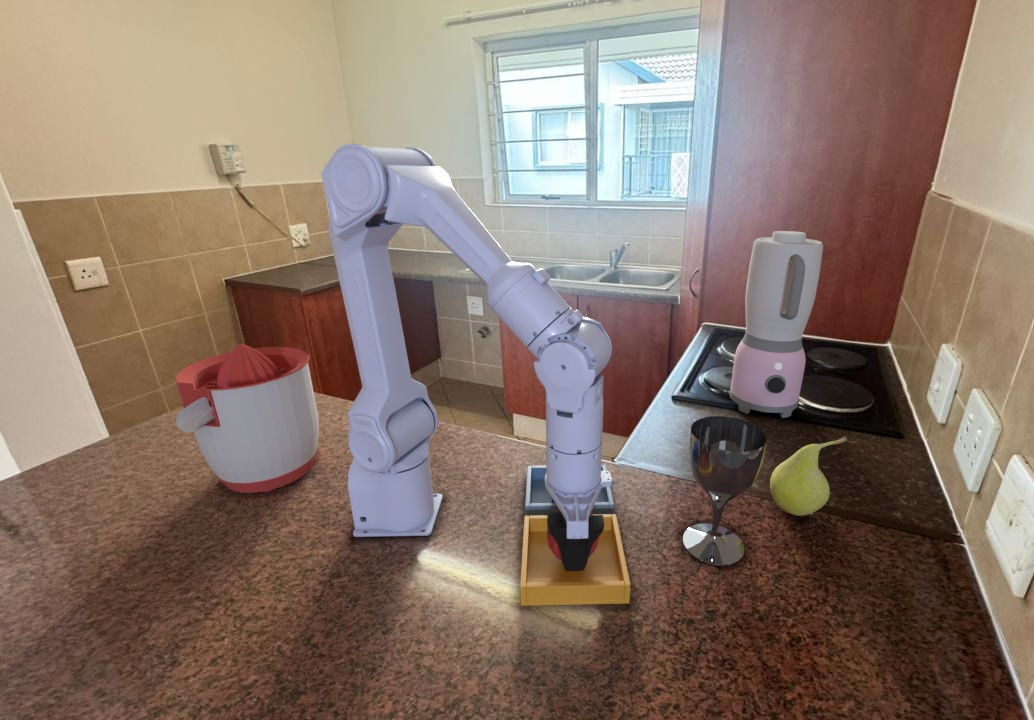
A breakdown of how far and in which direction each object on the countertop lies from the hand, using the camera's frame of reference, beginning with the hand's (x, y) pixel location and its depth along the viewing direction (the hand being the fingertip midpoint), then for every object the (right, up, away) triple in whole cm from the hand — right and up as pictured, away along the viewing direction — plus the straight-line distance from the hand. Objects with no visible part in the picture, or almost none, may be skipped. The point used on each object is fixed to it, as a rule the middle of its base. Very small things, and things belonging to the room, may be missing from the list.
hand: (572, 547), depth 56 cm
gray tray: (0, +2, +12) cm, 12 cm away
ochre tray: (0, -2, +1) cm, 2 cm away
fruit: (+30, +1, +10) cm, 31 cm away
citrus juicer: (-45, +4, +18) cm, 48 cm away
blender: (+37, +12, +38) cm, 55 cm away
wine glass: (+17, -1, +4) cm, 17 cm away
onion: (0, -2, +1) cm, 2 cm away
